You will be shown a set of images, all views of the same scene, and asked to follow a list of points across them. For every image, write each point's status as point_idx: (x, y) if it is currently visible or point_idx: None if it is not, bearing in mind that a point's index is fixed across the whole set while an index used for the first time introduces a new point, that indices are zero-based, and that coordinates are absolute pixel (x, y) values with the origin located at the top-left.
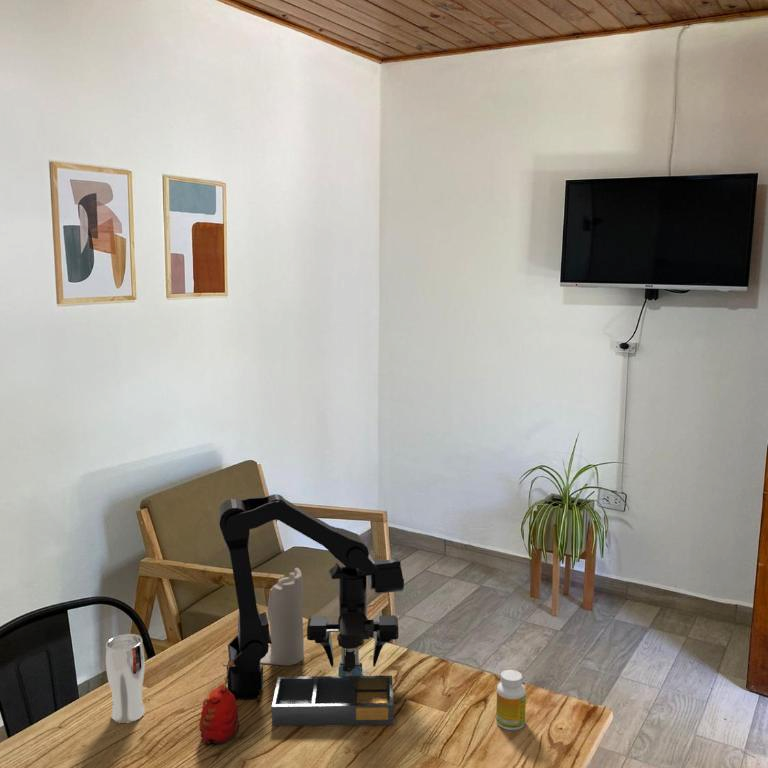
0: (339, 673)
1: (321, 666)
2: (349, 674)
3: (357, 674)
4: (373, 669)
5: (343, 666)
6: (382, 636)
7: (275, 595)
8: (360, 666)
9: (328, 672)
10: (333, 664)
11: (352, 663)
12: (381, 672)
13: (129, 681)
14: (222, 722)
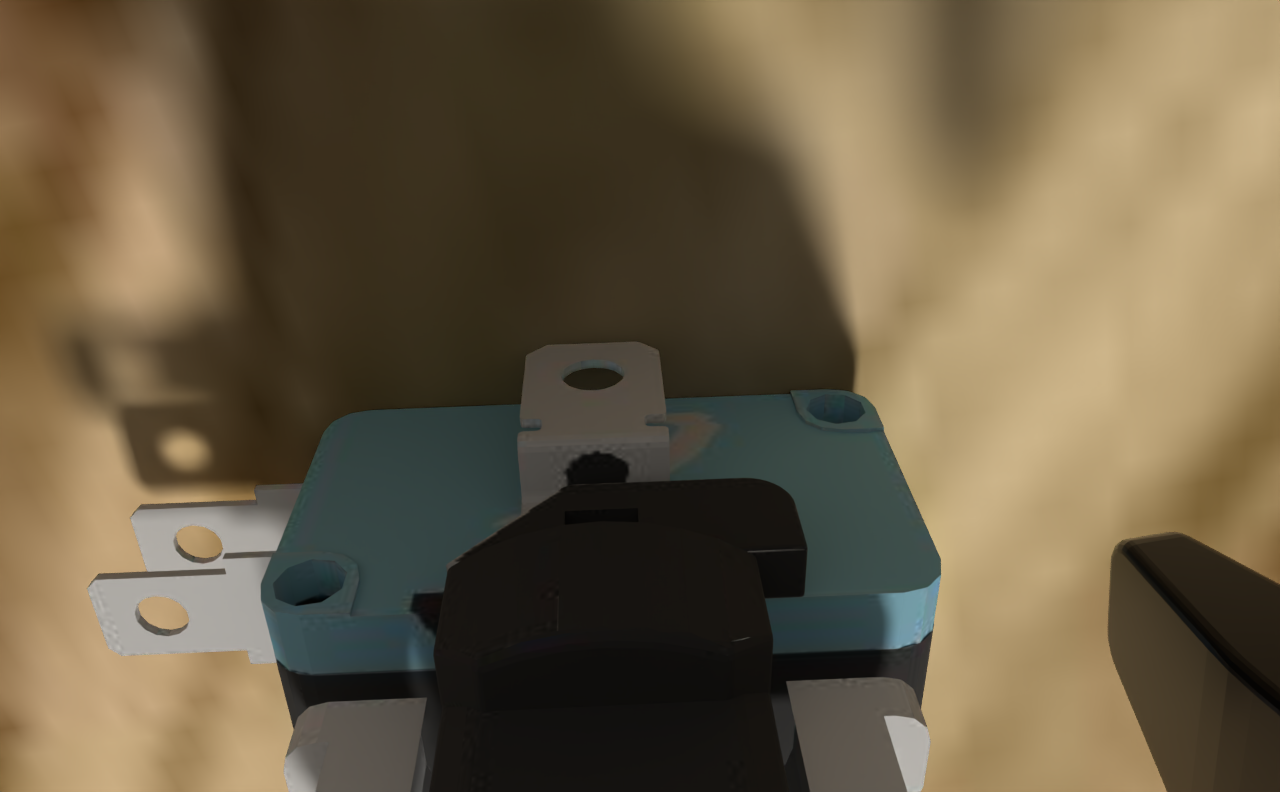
0: (870, 457)
1: None
2: (583, 419)
3: (383, 479)
4: (212, 774)
5: (796, 603)
6: None
7: None
8: (288, 685)
9: (1111, 550)
10: (1120, 630)
11: (474, 684)
12: (7, 717)
13: None
14: None
